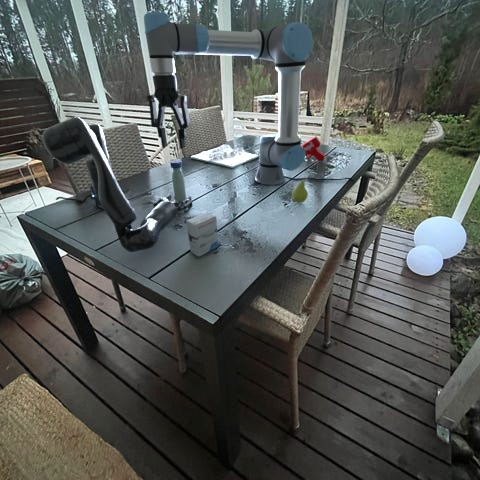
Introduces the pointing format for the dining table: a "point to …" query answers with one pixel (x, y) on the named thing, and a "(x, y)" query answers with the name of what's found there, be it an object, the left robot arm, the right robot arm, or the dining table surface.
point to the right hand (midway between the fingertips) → (173, 147)
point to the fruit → (300, 192)
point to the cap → (176, 164)
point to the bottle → (178, 186)
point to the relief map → (225, 156)
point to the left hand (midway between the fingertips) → (180, 197)
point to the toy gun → (313, 149)
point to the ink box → (202, 233)
